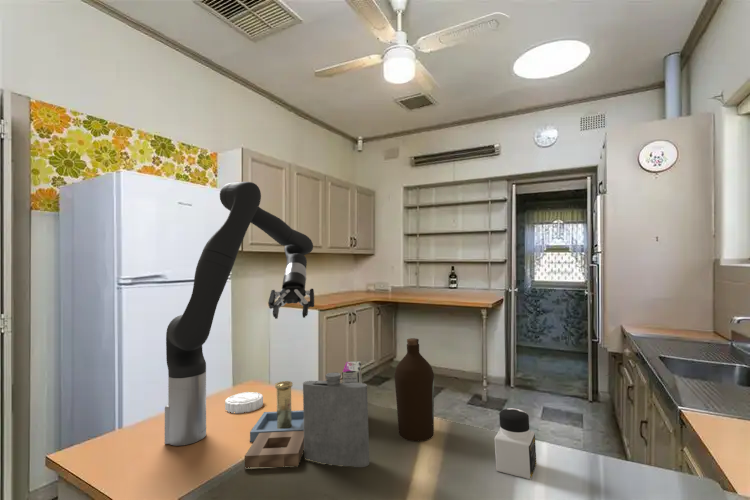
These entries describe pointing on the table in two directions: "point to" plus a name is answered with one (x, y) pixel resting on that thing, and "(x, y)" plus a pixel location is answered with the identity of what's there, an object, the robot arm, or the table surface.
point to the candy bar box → (352, 372)
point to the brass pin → (284, 404)
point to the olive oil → (415, 395)
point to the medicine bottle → (515, 444)
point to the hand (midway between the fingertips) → (289, 316)
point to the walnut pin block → (276, 449)
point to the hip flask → (336, 422)
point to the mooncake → (244, 402)
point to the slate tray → (270, 424)
